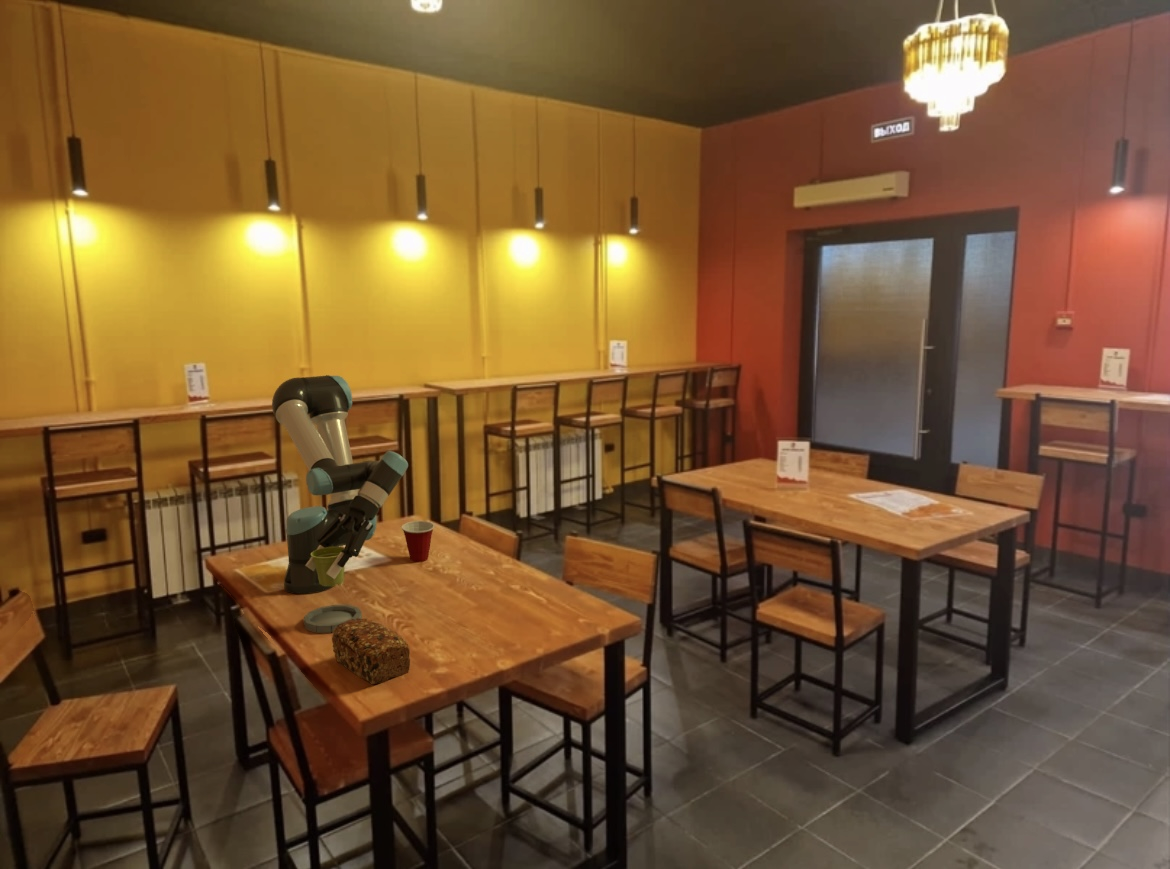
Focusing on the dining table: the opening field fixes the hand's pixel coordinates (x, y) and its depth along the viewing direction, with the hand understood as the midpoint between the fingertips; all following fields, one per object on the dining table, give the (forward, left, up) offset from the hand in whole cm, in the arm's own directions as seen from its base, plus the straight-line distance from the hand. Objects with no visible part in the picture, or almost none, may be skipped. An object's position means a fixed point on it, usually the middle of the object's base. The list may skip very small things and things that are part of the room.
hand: (319, 572), depth 206 cm
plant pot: (+2, +2, -4) cm, 5 cm away
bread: (+20, -24, -15) cm, 35 cm away
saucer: (+2, +3, -15) cm, 15 cm away
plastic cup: (+14, +55, -15) cm, 58 cm away
